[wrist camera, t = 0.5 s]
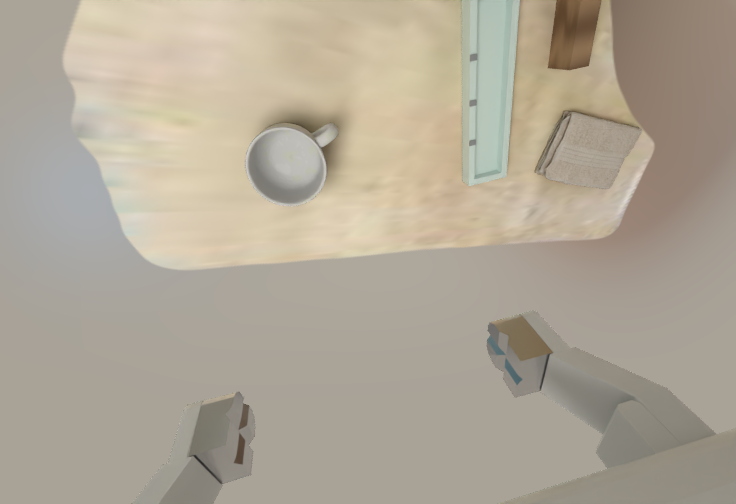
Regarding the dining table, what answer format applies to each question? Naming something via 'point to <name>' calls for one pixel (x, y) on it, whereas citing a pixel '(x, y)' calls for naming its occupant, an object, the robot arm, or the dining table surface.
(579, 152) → the washcloth
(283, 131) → the teacup
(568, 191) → the dining table surface
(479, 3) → the ledge
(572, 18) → the wooden block
